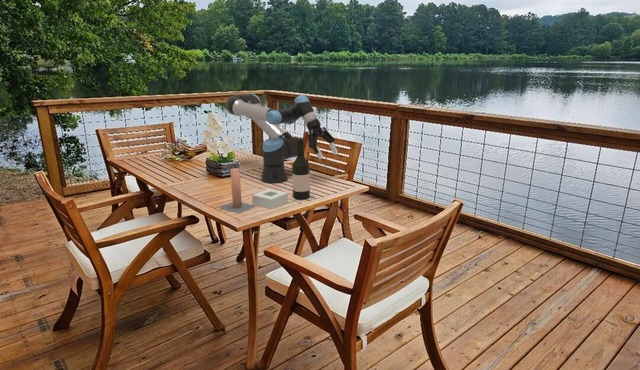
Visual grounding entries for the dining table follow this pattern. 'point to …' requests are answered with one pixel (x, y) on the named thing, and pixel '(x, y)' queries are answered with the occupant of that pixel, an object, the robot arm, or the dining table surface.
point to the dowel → (236, 188)
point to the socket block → (270, 198)
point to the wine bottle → (301, 174)
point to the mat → (237, 210)
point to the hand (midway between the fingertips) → (328, 156)
